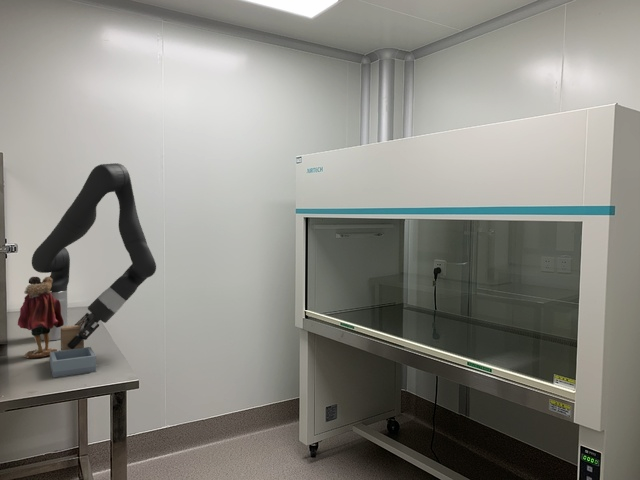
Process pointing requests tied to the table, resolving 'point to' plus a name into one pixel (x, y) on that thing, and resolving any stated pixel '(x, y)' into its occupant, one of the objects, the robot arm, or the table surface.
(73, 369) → the open box
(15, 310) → the table surface
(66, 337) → the tan wooden block
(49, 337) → the robot arm
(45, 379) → the table surface
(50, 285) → the figurine
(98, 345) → the table surface
